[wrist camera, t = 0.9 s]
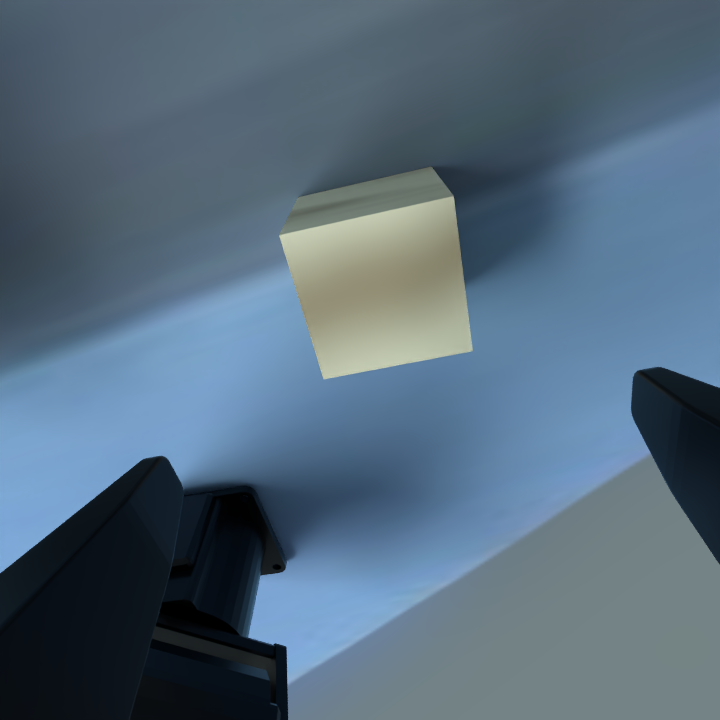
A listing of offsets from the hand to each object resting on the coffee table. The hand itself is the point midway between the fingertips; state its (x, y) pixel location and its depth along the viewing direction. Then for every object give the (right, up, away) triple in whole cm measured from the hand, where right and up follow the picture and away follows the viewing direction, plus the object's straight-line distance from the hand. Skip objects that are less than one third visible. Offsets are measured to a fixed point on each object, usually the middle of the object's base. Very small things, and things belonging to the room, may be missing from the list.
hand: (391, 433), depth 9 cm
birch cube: (0, +6, +10) cm, 12 cm away
